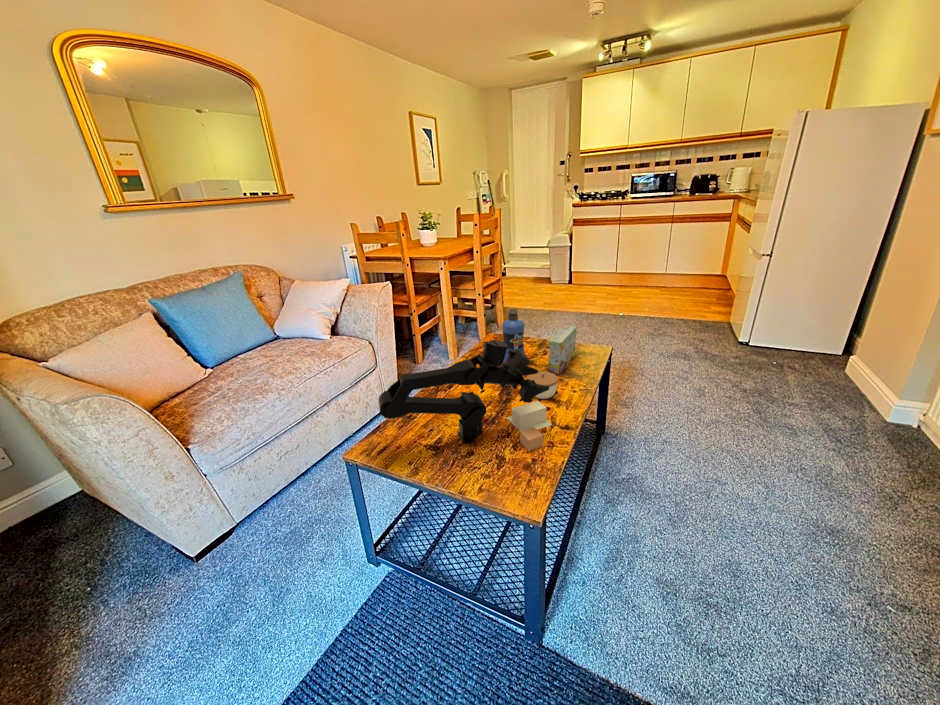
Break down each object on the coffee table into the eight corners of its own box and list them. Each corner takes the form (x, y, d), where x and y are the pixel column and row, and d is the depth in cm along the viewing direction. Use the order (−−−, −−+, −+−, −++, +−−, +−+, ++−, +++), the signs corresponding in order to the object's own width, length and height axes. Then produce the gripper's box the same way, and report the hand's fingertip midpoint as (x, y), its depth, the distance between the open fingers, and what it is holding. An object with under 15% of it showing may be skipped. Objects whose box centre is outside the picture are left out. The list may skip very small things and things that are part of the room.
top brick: (528, 454, 116) (528, 440, 114) (520, 445, 121) (519, 431, 119) (543, 449, 118) (543, 435, 116) (534, 440, 122) (534, 426, 120)
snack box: (560, 377, 160) (561, 342, 154) (547, 374, 163) (548, 340, 157) (575, 357, 177) (577, 325, 171) (563, 355, 179) (564, 324, 173)
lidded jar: (558, 390, 150) (558, 368, 146) (556, 404, 141) (556, 381, 137) (530, 388, 153) (530, 366, 149) (526, 402, 143) (526, 379, 140)
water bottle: (499, 362, 176) (497, 308, 166) (517, 357, 180) (516, 305, 170) (509, 370, 168) (508, 314, 158) (528, 365, 172) (528, 310, 162)
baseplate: (523, 436, 124) (523, 434, 124) (506, 420, 133) (506, 417, 133) (552, 427, 128) (552, 424, 128) (534, 411, 137) (534, 409, 137)
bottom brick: (519, 429, 126) (519, 415, 124) (512, 421, 131) (511, 408, 129) (546, 420, 130) (546, 407, 128) (537, 413, 134) (537, 400, 132)
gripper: (517, 370, 109) (565, 375, 114) (497, 337, 125) (540, 343, 130) (504, 402, 114) (551, 405, 119) (487, 367, 130) (529, 371, 135)
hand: (543, 379), depth 126 cm, fingers open, 9 cm apart
